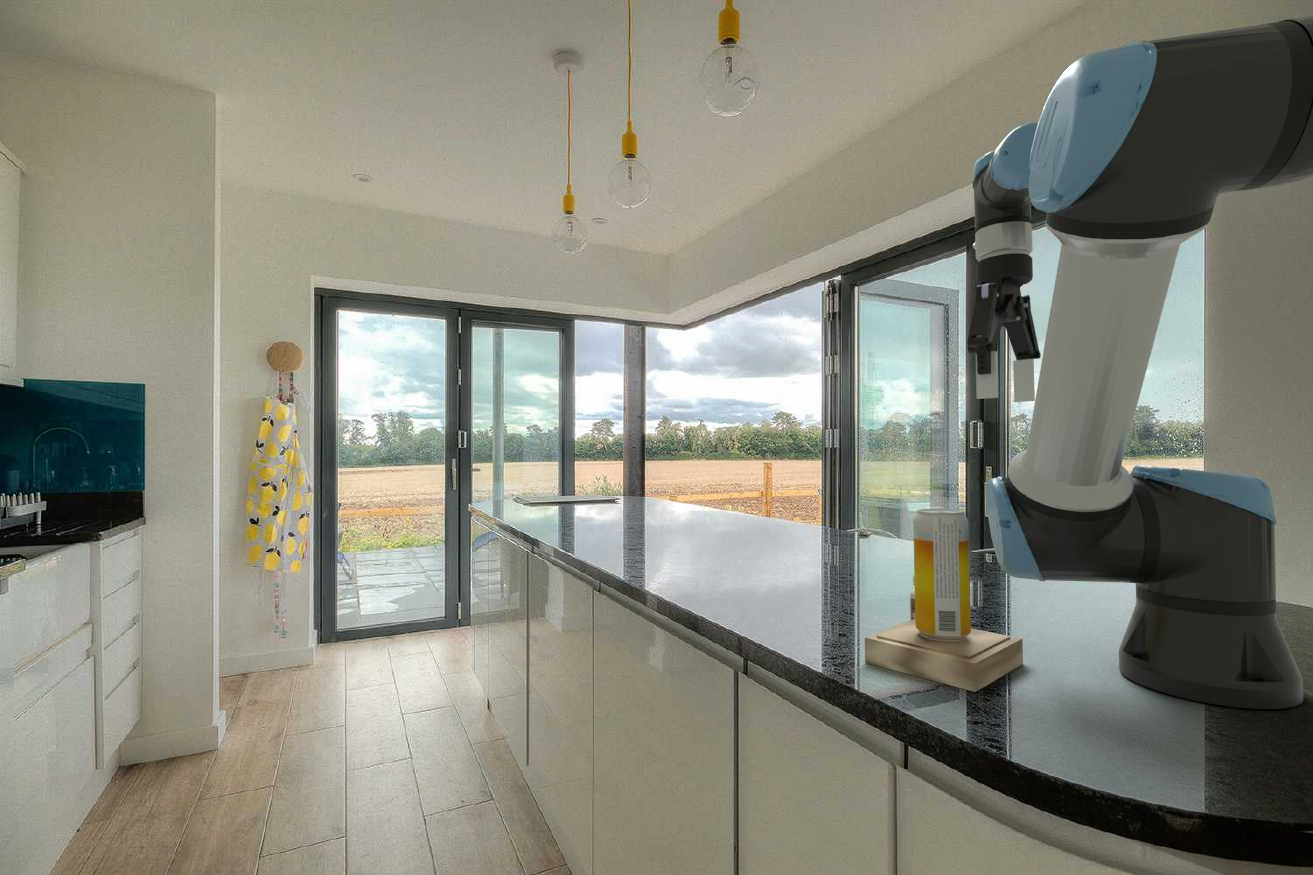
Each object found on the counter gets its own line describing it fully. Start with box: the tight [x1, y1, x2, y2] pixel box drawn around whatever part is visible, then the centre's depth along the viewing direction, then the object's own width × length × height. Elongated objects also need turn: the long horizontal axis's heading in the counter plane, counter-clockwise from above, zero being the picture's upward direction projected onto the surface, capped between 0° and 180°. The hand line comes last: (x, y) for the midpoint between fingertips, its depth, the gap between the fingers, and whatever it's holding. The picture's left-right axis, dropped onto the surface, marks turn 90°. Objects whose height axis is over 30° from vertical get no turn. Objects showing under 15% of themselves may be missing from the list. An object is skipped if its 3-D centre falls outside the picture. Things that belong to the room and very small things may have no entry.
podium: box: [864, 619, 1024, 693], centre depth 78 cm, size 13×13×3 cm
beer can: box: [912, 508, 972, 642], centre depth 78 cm, size 6×6×15 cm
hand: (1006, 400), depth 97 cm, fingers open, 13 cm apart
